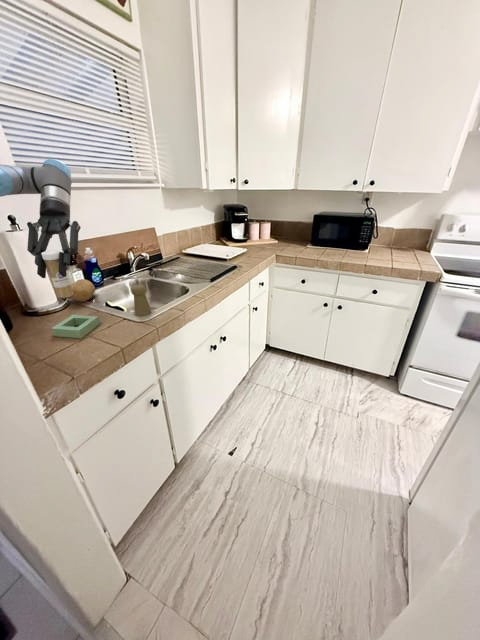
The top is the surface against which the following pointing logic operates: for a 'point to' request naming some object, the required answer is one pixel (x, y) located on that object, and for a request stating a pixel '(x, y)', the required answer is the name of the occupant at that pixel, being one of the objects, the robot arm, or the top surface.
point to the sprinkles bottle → (57, 274)
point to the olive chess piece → (140, 300)
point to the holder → (69, 330)
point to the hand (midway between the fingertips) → (52, 275)
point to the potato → (82, 290)
